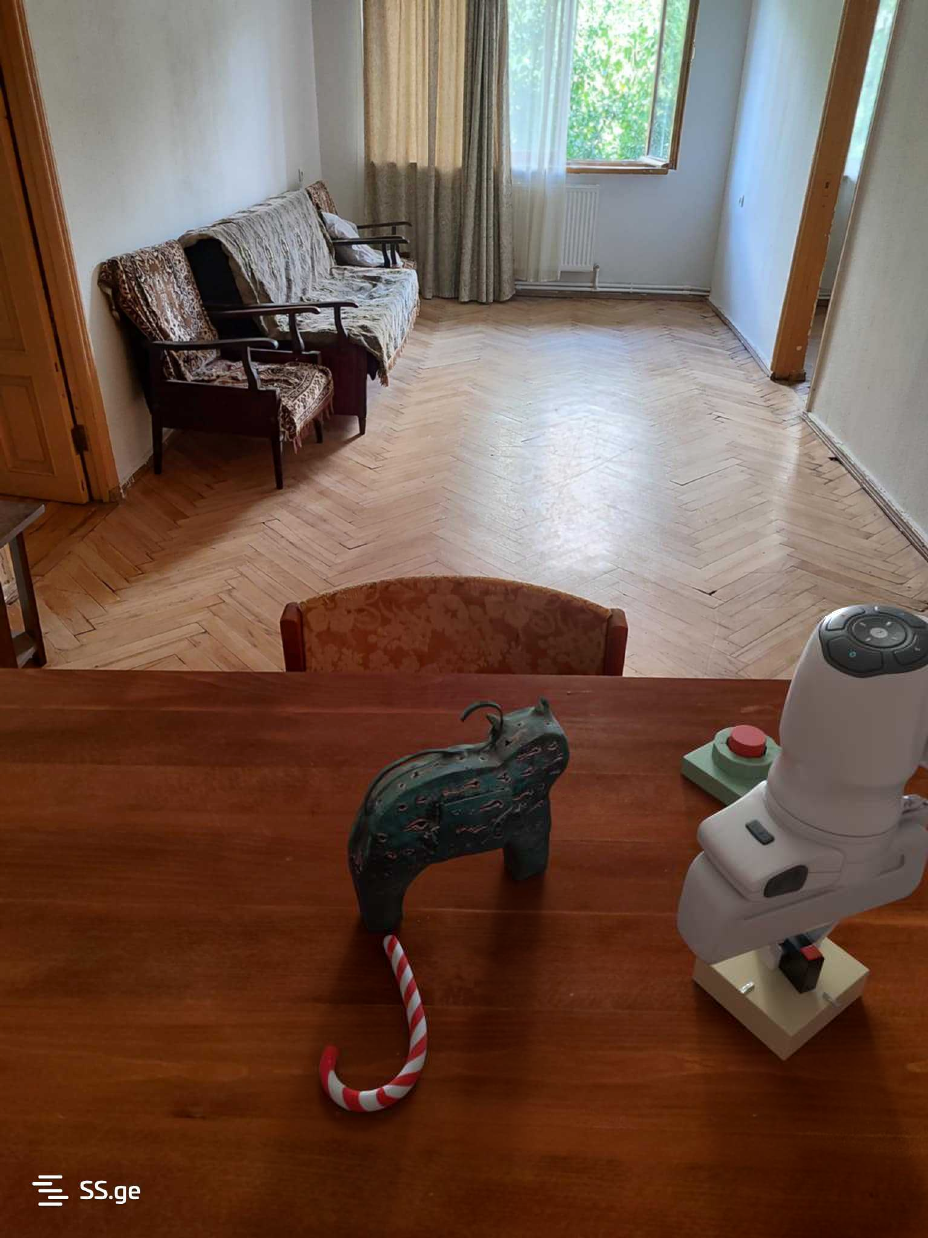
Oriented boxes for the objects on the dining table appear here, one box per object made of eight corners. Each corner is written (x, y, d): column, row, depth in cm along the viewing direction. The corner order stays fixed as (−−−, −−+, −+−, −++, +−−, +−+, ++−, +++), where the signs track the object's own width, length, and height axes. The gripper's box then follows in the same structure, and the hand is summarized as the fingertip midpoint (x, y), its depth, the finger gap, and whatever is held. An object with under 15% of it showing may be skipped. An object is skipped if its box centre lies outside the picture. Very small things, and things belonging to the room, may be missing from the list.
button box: (740, 740, 100) (746, 711, 98) (800, 777, 94) (808, 748, 92) (680, 773, 95) (685, 743, 93) (739, 814, 89) (746, 784, 87)
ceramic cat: (538, 836, 86) (551, 663, 76) (573, 881, 81) (591, 703, 71) (345, 901, 79) (330, 720, 69) (370, 956, 74) (358, 769, 64)
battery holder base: (764, 917, 78) (770, 892, 76) (868, 999, 71) (878, 973, 69) (685, 974, 73) (690, 948, 71) (789, 1068, 65) (797, 1042, 64)
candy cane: (429, 931, 75) (424, 1104, 61) (429, 942, 75) (425, 1115, 62) (337, 932, 74) (313, 1105, 61) (338, 943, 75) (314, 1116, 62)
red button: (743, 734, 95) (745, 721, 94) (770, 751, 93) (773, 737, 92) (721, 746, 93) (723, 732, 92) (748, 763, 91) (751, 750, 90)
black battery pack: (751, 935, 72) (759, 903, 71) (767, 930, 73) (775, 898, 71) (799, 994, 68) (809, 961, 66) (815, 989, 68) (826, 956, 66)
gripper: (903, 764, 68) (861, 891, 75) (678, 829, 62) (655, 962, 69) (970, 817, 63) (919, 948, 70) (733, 894, 57) (701, 1030, 64)
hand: (786, 955), depth 70 cm, fingers closed on black battery pack, 2 cm apart
